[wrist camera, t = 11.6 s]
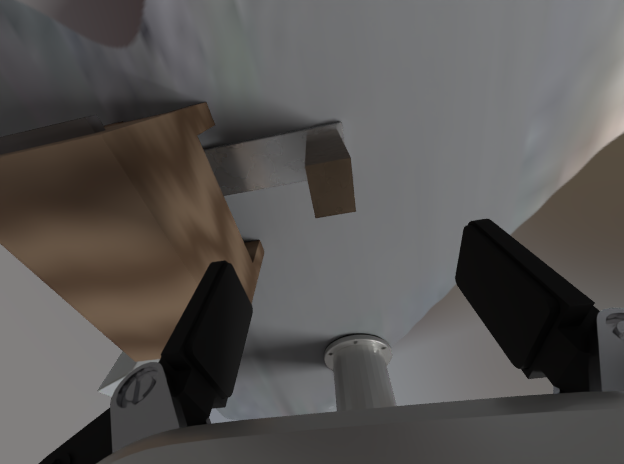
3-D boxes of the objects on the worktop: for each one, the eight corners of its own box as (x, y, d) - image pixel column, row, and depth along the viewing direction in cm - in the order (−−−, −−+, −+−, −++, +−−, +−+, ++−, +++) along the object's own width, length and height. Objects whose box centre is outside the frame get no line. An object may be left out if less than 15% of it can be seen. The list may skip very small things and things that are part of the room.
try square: (346, 170, 26) (363, 216, 18) (140, 207, 29) (70, 263, 20) (340, 120, 23) (357, 148, 15) (113, 167, 26) (20, 212, 17)
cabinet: (264, 252, 32) (239, 349, 21) (194, 263, 33) (135, 361, 22) (202, 92, 22) (88, 115, 11) (103, 115, 23) (-97, 159, 12)
